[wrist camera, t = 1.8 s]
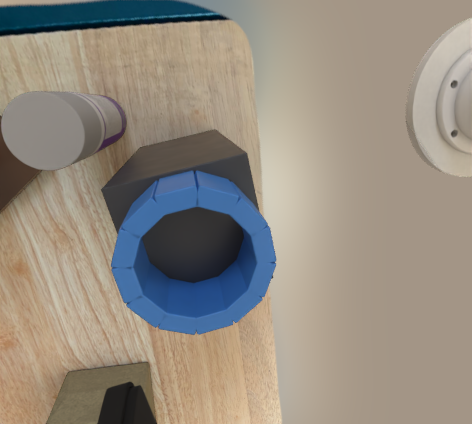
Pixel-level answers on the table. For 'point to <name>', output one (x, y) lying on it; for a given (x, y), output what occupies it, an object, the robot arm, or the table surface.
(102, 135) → the container
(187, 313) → the ring
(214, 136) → the pedestal
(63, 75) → the table surface
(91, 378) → the tissue box
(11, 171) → the stand
